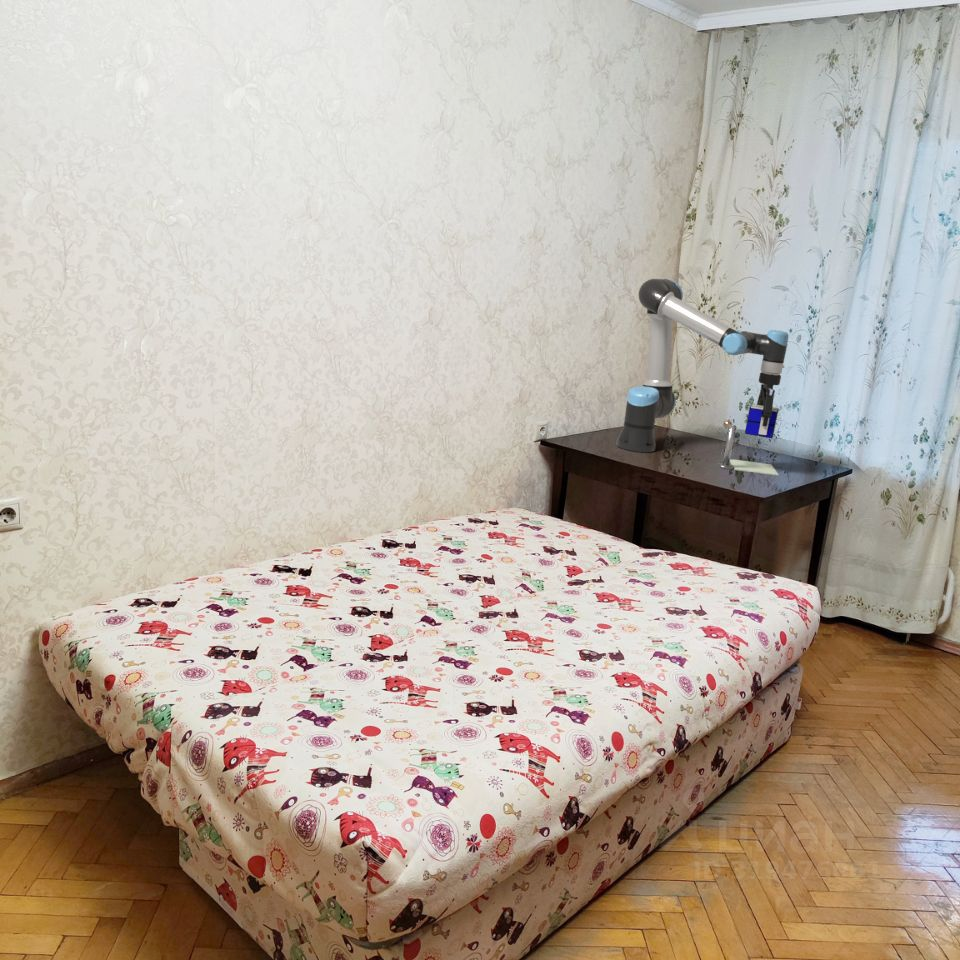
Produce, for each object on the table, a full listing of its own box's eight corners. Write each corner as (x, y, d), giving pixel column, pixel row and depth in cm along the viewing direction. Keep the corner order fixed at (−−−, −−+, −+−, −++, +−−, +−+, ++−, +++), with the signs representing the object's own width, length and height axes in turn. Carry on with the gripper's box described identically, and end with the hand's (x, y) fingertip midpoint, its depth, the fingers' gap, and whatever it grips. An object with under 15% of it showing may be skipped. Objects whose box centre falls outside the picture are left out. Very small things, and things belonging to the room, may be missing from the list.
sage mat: (734, 469, 330) (734, 468, 330) (728, 459, 345) (729, 458, 345) (778, 475, 328) (778, 474, 328) (771, 465, 343) (771, 464, 343)
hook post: (718, 468, 329) (725, 427, 325) (713, 457, 346) (720, 418, 342) (734, 470, 329) (742, 429, 324) (728, 459, 345) (735, 420, 341)
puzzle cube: (744, 433, 330) (749, 407, 328) (746, 429, 340) (751, 403, 337) (772, 438, 327) (777, 412, 325) (773, 434, 336) (779, 408, 334)
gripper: (787, 379, 316) (775, 439, 321) (775, 370, 338) (764, 426, 344) (765, 376, 316) (754, 436, 322) (755, 367, 339) (744, 423, 345)
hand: (759, 431), depth 333 cm, fingers closed on puzzle cube, 11 cm apart
